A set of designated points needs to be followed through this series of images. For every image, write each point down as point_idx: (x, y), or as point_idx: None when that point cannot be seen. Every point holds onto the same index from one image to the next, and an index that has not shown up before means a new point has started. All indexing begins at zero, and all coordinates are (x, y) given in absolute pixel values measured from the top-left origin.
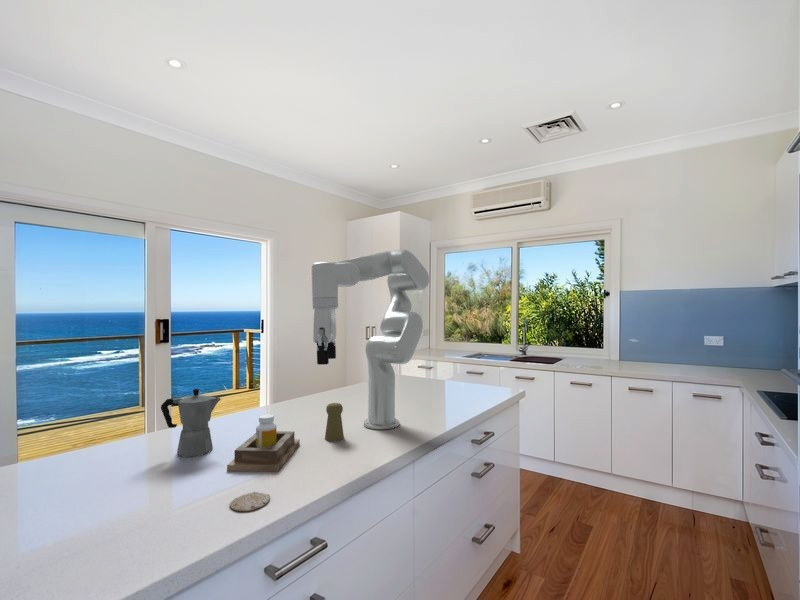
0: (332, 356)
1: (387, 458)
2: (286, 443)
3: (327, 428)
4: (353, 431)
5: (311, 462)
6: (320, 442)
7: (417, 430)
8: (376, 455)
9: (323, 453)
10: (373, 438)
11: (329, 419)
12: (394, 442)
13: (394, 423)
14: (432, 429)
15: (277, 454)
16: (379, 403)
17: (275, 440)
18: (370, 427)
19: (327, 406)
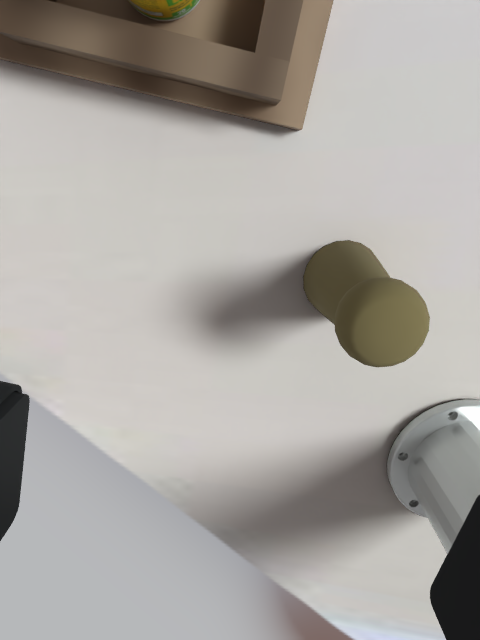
0: (451, 593)
1: (103, 435)
2: (150, 70)
3: (338, 262)
4: None
5: (85, 191)
6: (304, 222)
7: (349, 550)
8: (132, 408)
9: (174, 235)
10: (303, 415)
11: (345, 282)
12: (246, 472)
13: (418, 503)
14: (346, 588)
15: (18, 38)
16: (453, 520)
17: (142, 4)
18: (416, 420)
19: (380, 290)
